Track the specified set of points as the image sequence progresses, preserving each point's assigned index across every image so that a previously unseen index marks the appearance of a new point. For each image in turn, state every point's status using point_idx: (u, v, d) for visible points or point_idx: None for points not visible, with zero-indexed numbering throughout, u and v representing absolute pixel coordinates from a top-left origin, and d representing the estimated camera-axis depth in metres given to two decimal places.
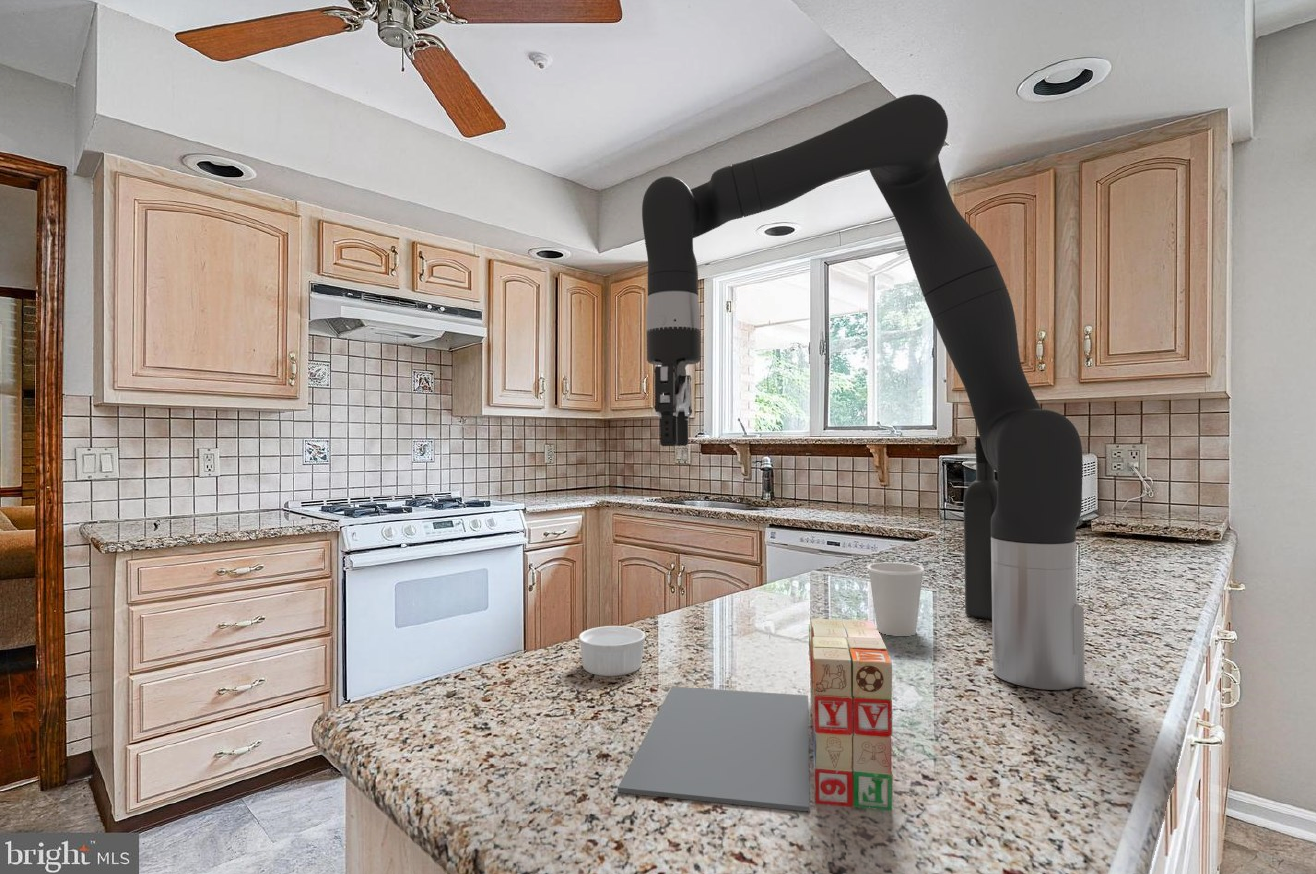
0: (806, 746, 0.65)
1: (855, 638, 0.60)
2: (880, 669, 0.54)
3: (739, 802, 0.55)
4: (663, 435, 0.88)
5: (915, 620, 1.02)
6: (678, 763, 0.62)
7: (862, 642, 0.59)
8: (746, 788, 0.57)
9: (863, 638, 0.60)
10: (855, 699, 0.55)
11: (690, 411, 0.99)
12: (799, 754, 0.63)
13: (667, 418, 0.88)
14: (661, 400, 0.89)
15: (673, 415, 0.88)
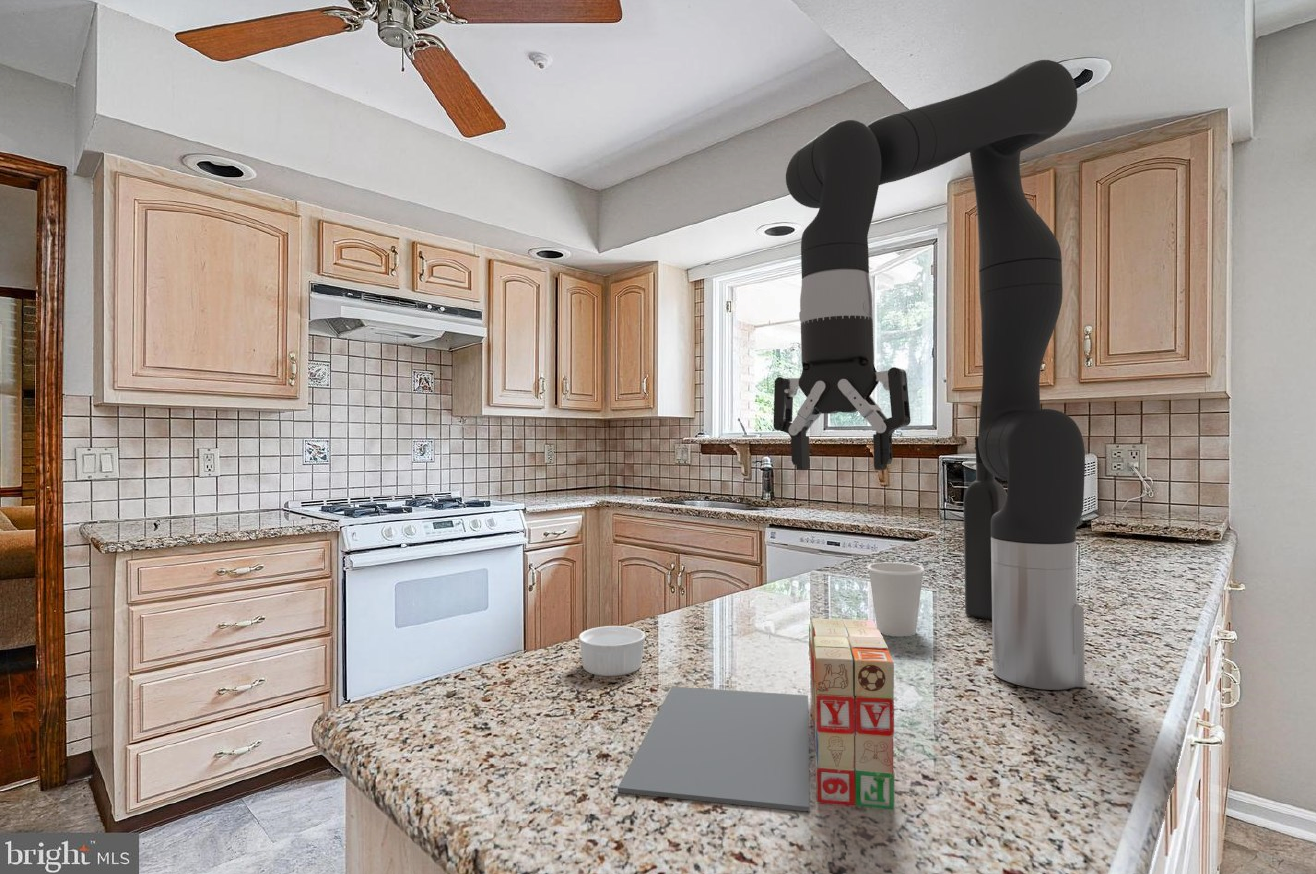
0: (806, 746, 0.65)
1: (856, 637, 0.60)
2: (882, 668, 0.54)
3: (739, 802, 0.55)
4: (889, 456, 0.69)
5: (915, 620, 1.02)
6: (678, 763, 0.62)
7: (863, 642, 0.59)
8: (746, 788, 0.57)
9: (864, 637, 0.60)
10: (857, 698, 0.55)
11: None
12: (799, 754, 0.63)
13: (890, 434, 0.69)
14: (875, 411, 0.69)
15: None
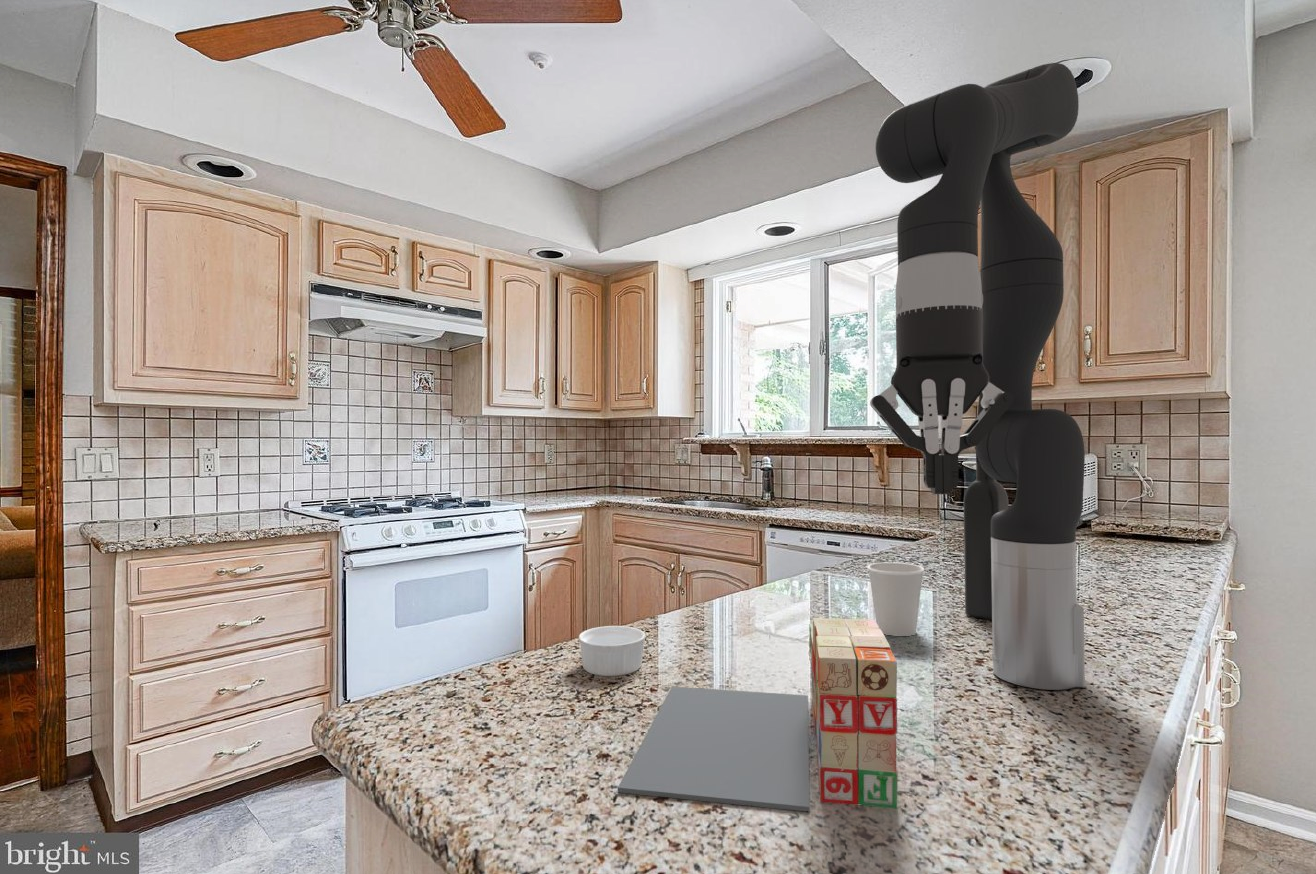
0: (806, 746, 0.65)
1: (858, 637, 0.60)
2: (885, 667, 0.55)
3: (739, 802, 0.55)
4: None
5: (915, 620, 1.02)
6: (678, 763, 0.62)
7: (866, 641, 0.59)
8: (746, 788, 0.57)
9: (866, 637, 0.60)
10: (861, 697, 0.55)
11: None
12: (799, 754, 0.63)
13: None
14: (959, 429, 0.62)
15: None
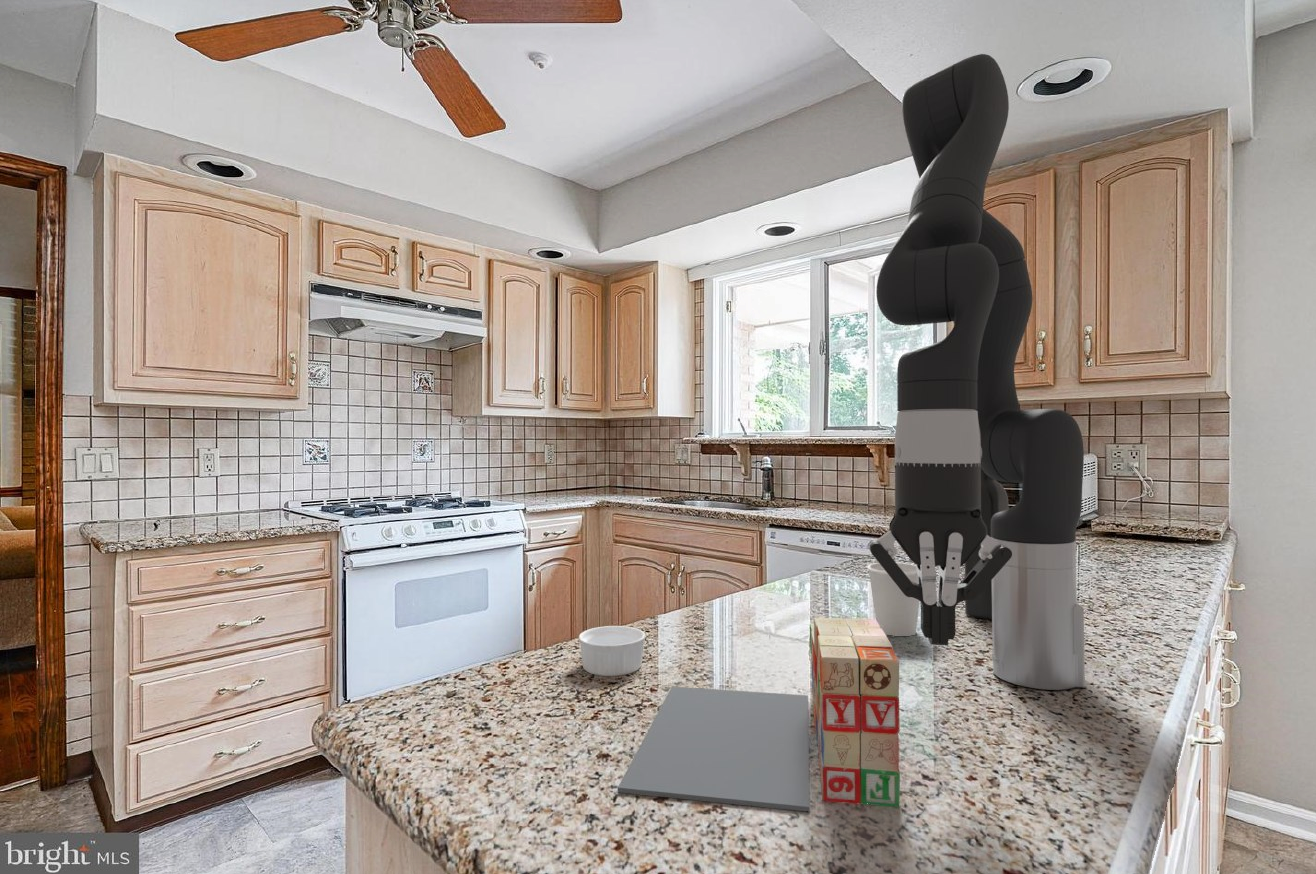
0: (806, 746, 0.65)
1: (860, 636, 0.61)
2: (887, 667, 0.55)
3: (739, 802, 0.55)
4: None
5: (915, 620, 1.02)
6: (678, 763, 0.62)
7: (868, 640, 0.59)
8: (746, 788, 0.57)
9: (868, 636, 0.60)
10: (863, 696, 0.55)
11: None
12: (799, 754, 0.63)
13: None
14: None
15: None
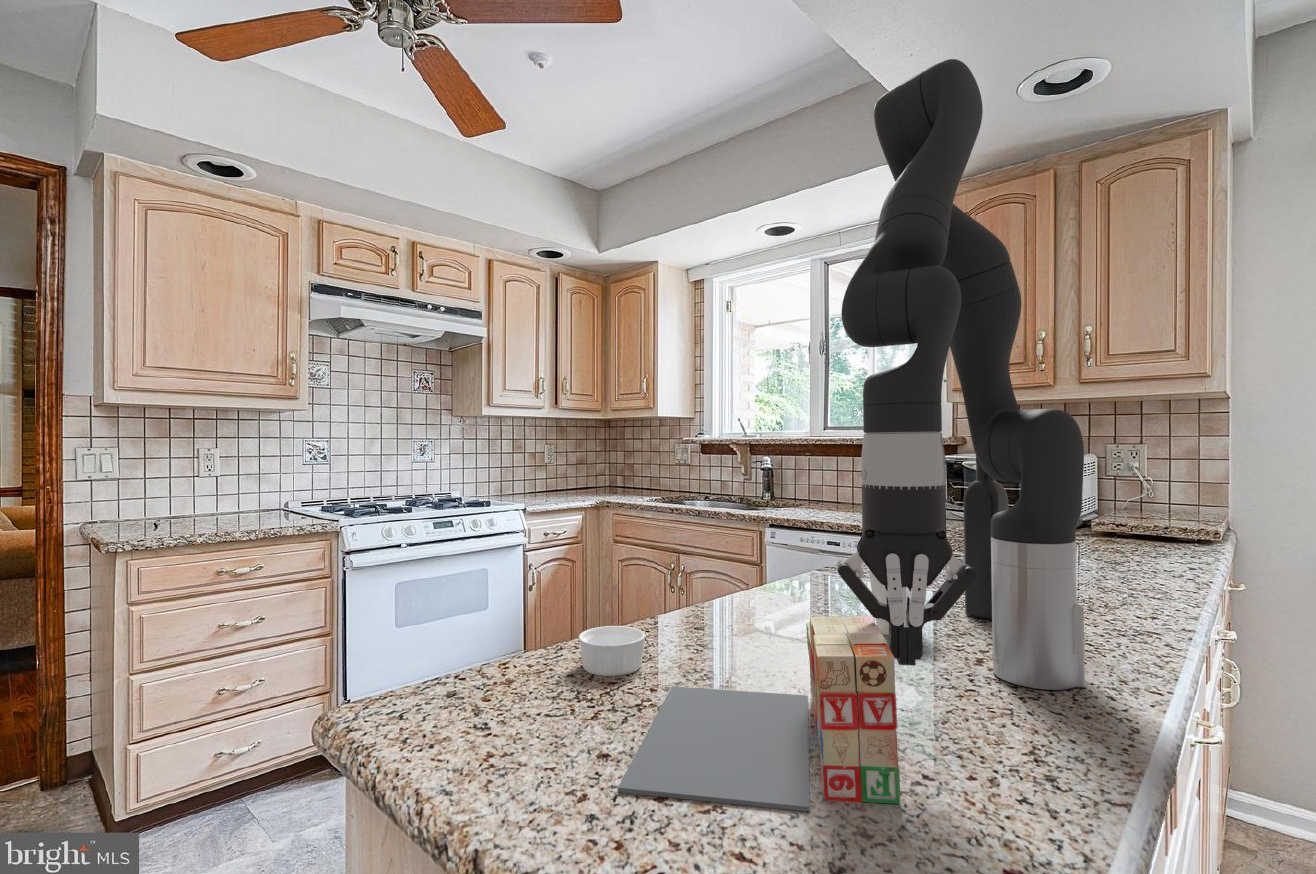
0: (806, 746, 0.65)
1: (855, 634, 0.61)
2: (883, 663, 0.55)
3: (739, 802, 0.55)
4: None
5: None
6: (678, 763, 0.62)
7: (863, 638, 0.60)
8: (746, 788, 0.57)
9: (863, 634, 0.61)
10: (860, 694, 0.55)
11: None
12: (799, 754, 0.63)
13: None
14: (923, 602, 0.63)
15: None
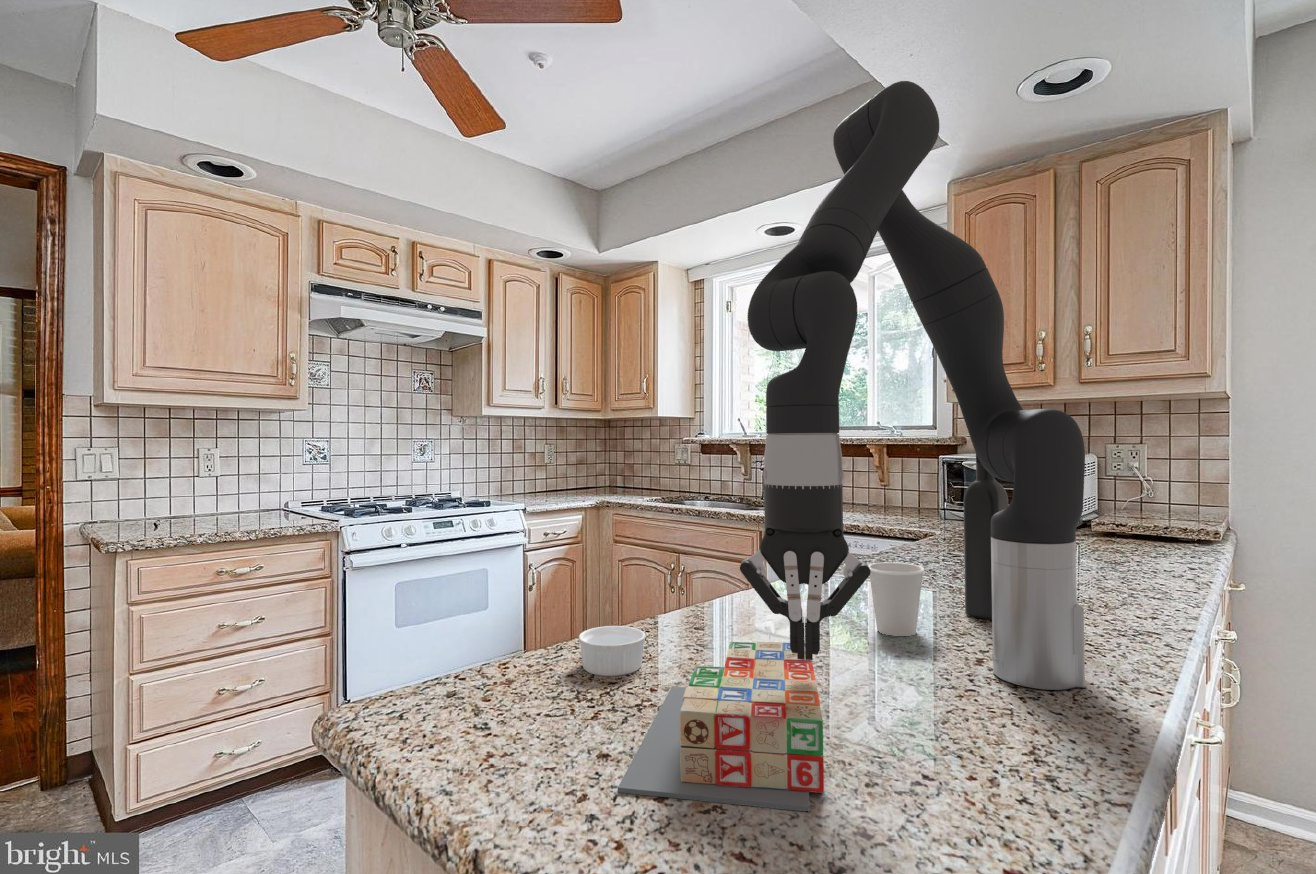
0: None
1: None
2: (686, 721, 0.58)
3: (739, 802, 0.55)
4: (819, 645, 0.65)
5: (915, 620, 1.02)
6: (678, 763, 0.62)
7: None
8: (746, 788, 0.57)
9: None
10: (715, 746, 0.57)
11: None
12: None
13: None
14: (820, 599, 0.64)
15: None
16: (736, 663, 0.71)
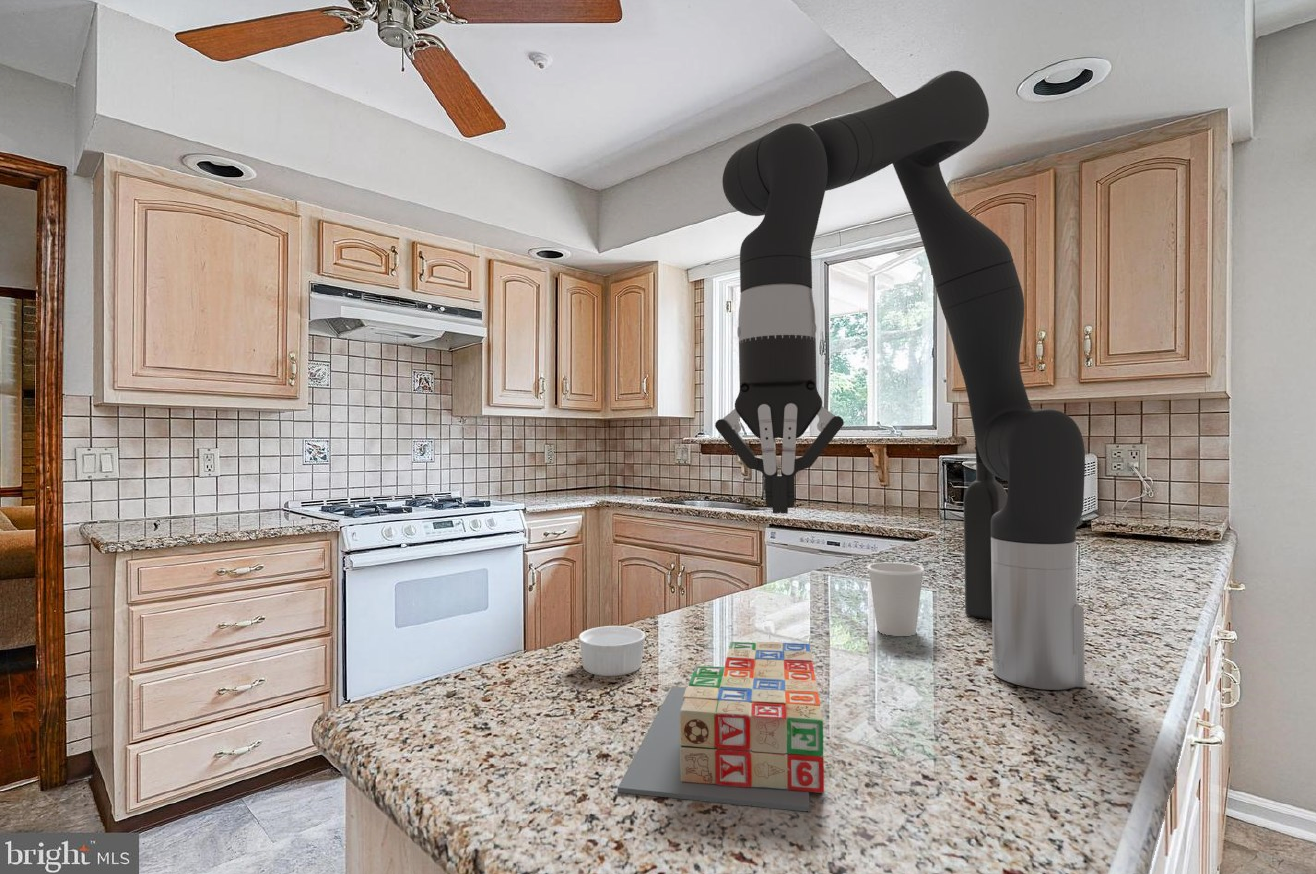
0: None
1: None
2: (686, 721, 0.58)
3: (739, 802, 0.55)
4: (794, 499, 0.66)
5: (915, 620, 1.02)
6: (678, 763, 0.62)
7: None
8: (746, 788, 0.57)
9: None
10: (715, 746, 0.57)
11: None
12: None
13: None
14: (794, 452, 0.65)
15: None
16: (736, 663, 0.71)
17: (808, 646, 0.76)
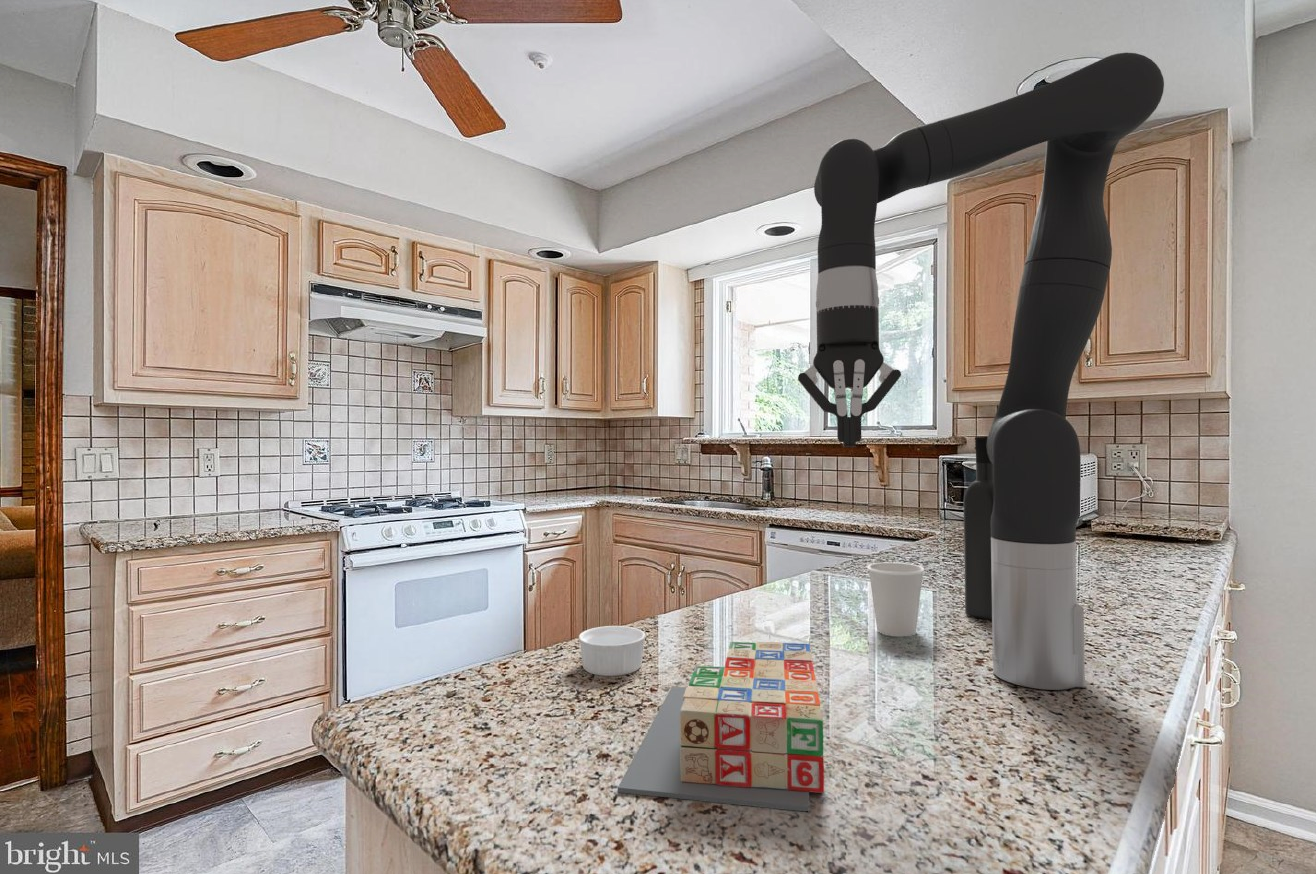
0: None
1: None
2: (686, 721, 0.58)
3: (739, 802, 0.55)
4: None
5: (915, 620, 1.02)
6: (678, 763, 0.62)
7: None
8: (746, 788, 0.57)
9: None
10: (715, 746, 0.57)
11: None
12: None
13: None
14: (861, 398, 0.83)
15: None
16: (736, 663, 0.71)
17: (808, 646, 0.76)
